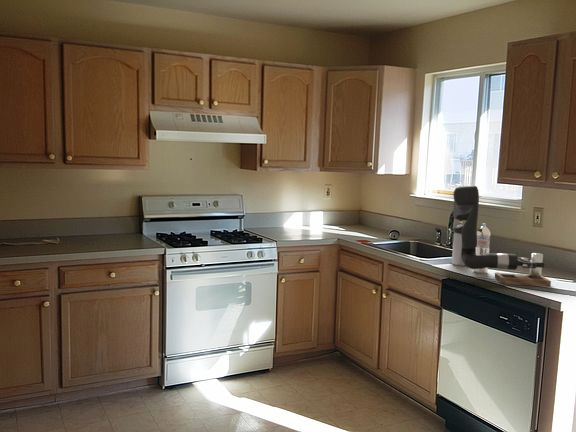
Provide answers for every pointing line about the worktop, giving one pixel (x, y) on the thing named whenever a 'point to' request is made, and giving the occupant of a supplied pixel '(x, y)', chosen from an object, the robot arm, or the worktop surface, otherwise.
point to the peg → (537, 271)
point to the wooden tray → (521, 279)
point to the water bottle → (482, 244)
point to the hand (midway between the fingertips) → (540, 263)
